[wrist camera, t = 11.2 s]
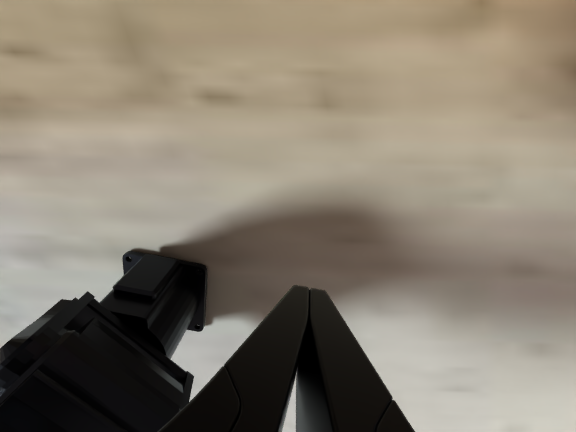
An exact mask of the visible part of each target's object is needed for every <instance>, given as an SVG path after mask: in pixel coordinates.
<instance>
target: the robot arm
mask: <svg viewBox="0 0 576 432" xmlns="http://www.w3.org/2000/svg"><path fill="white" fill-rule="evenodd" d="M129 257H131V258H132V259H130V258H129ZM123 269H124V276H123V277H122V278H121V279H120V280H119V281H118V282H117V283H116V284H115V285H114V286H113V290H112V291H111V292H110V293H109V294H108V295H107V296H106V297H105V298H104V299H103V300H102V301H101V302H100V303H99V302H98V301H96V300H95V299H94V296H93V295H92V294H91V293H89V292H86V293H85V294H84V295H83V296H82V297H81V298H80V299H79V300H78V299H77V298H76V297H75V298H74V299H73V300H64V299H61V300H60V301H59V302H58V303H57V304H55V305H54V306H53V307H52V308H51V309H50V310H48V311H47V312H46V313H45V314H44V315H42V316H41V317H40V318H39V319H37V320H36V321H35V322H33V323H32V324H31V325H29V326H28V327H27V328H25V329H24V330H23V331H21V332H20V333H18V334H17V335H16V336H14V337H13V338H12V339H11V340H9V341H8V342H7V343H6V344H5V345H4V346H2V347H1V348H0V432H282V429H283V425H284V421H285V417H286V413H287V409H288V405H289V401H290V397H291V393H292V389H293V385H294V381H295V376H296V432H415V431H414V429H413V428H412V426H411V425H410V423H409V422H408V420H407V419H406V417H405V416H404V414H403V413H402V411H401V409H400V408H399V406H398V405H397V403H396V402H395V401H394V400H392V399H393V397H392V395H391V394H390V392H389V391H388V389H387V388H386V386H385V384H384V383H383V381H382V380H381V378H380V376H379V375H378V373H377V372H376V370H375V368H374V367H373V365H372V364H371V362H370V361H369V359H368V357H367V356H366V354H365V353H364V351H363V349H362V348H361V346H360V345H359V343H358V342H357V340H356V338H355V337H354V335H353V334H352V332H351V330H350V329H349V327H348V326H347V324H346V322H345V321H344V319H343V318H342V316H341V315H340V313H339V311H338V310H337V308H336V307H335V305H334V303H333V302H332V300H331V299H330V297H329V295H328V294H327V292H326V291H324V290H320V289H314V288H311V289H310V290H309V288H308V287H304V286H298V285H294V286H293V287H292V288H291V289H290V290H289V291H288V292H287V294H286V295H285V296H284V297H283V298H282V299H281V300H280V302H279V303H278V304H277V305H276V306H275V307H274V308H273V310H272V311H271V312H270V313H269V314H268V315H267V316H266V318H265V319H264V320H263V321H262V322H261V323H260V324H259V326H258V327H257V328H256V329H255V330H254V331H253V332H252V334H251V335H250V336H249V337H248V338H247V339H246V340H245V342H244V343H243V344H242V345H241V346H240V347H239V348H238V350H237V351H236V352H235V353H234V354H233V355H232V356H231V358H230V359H229V360H228V361H227V362H226V363H225V365H224V366H223V367H222V368H221V369H220V370H219V371H218V372H217V373H216V374H215V376H214V377H213V378H212V379H211V380H210V381H209V382H208V383H207V384H206V385H205V387H204V388H203V389H202V390H201V391H200V392H199V393H198V394H197V395H196V396H195V397H194V398H193V399H192V400H191V401H190V402H189V399H190V394H191V389H192V384H193V379H194V376H193V375H192V374H191V373H189V372H188V371H184V370H183V369H182V368H181V367H179V366H178V365H177V364H176V363H174V362H173V361H172V360H171V357H172V355H173V354H174V352H175V350H176V348H177V346H178V344H179V342H180V341H181V339H182V337H183V335H184V333H185V331H186V330H192V331H197V332H200V331H202V330H203V328H204V326H205V311H206V289H207V268H206V266H204V265H202V264H198V263H193V262H187V261H182V260H178V259H173V258H168V257H162V256H157V255H152V254H144V253H139V252H133V251H128V252H126V253H125V254H124V255H123ZM198 270H201V271H202V272H199V271H198ZM198 325H199V326H198ZM296 372H297V375H296Z"/></svg>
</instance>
